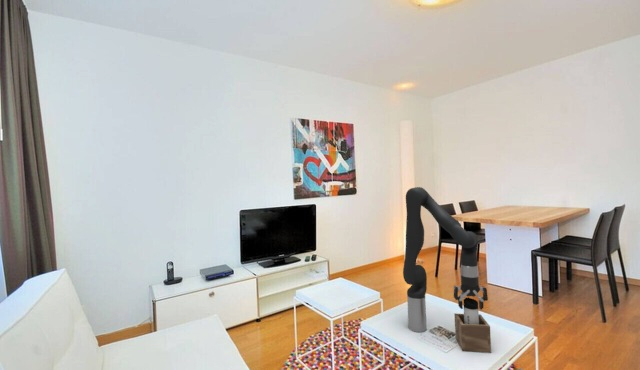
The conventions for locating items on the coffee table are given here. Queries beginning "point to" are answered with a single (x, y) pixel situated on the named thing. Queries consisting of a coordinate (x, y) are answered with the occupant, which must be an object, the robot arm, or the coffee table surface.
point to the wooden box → (473, 335)
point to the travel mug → (471, 311)
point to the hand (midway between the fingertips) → (470, 308)
